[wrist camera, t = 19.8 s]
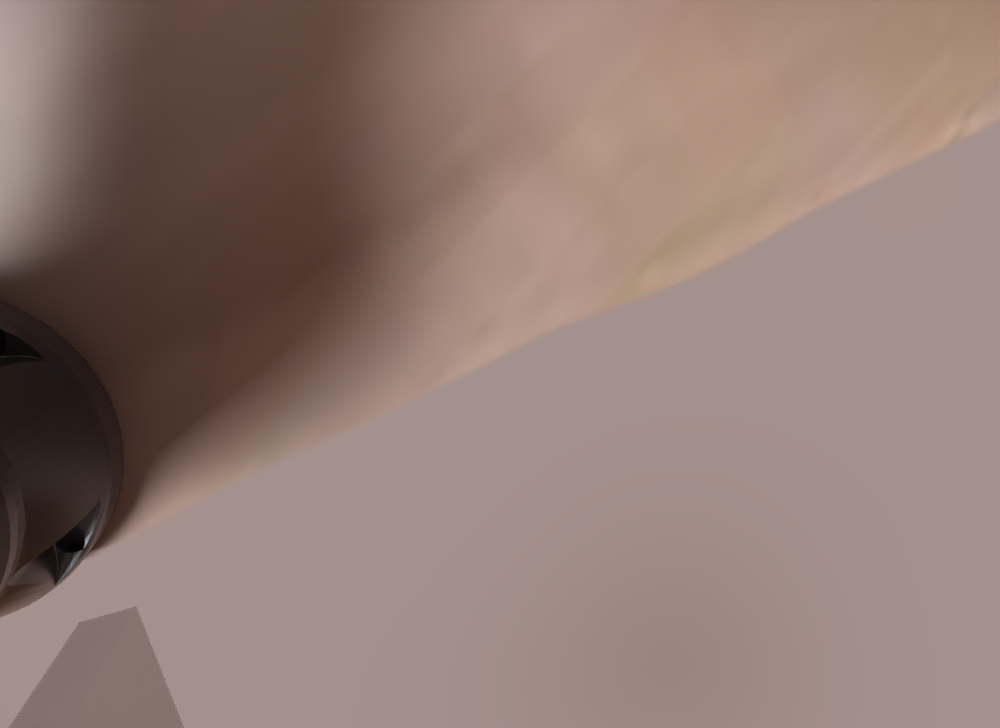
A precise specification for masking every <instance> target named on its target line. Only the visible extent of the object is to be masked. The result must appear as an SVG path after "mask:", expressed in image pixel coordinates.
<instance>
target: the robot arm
mask: <svg viewBox="0 0 1000 728" xmlns="http://www.w3.org/2000/svg"><path fill="white" fill-rule="evenodd" d="M122 473H123V450H122V441H121V435H120V430H119V426H118V422H117V419H116V416H115V413H114V410H113V407H112V405H111V403H110V400H109V398H108V396H107V394H106V392H105V390H104V388H103V386H102V385H101V383H100V382H99V380H98V378H97V377H96V375H95V374H94V372H93V371H92V370H91V368H90V367H89V366H88V364H87V363H86V362H85V361H84V360H83V358H82V357H81V356H80V355H79V354H78V353H77V352H76V351H75V350H74V349H73V348H72V347H71V346H70V345H69V344H68V343H67V342H66V341H65V340H64V339H63V338H61V337H60V336H59V335H58V334H56V333H55V332H54V331H53V330H51V329H50V328H48V327H47V326H45V325H44V324H43V323H41V322H39V321H38V320H36V319H34V318H33V317H31V316H29V315H27V314H25V313H24V312H22V311H20V310H18V309H15V308H13V307H11V306H8V305H6V304H3V303H1V302H0V617H2V616H5V615H8V614H10V613H13V612H15V611H18V610H20V609H22V608H24V607H26V606H28V605H30V604H31V603H33V602H35V601H37V600H38V599H40V598H41V597H43V596H44V595H46V594H47V593H49V592H50V591H51V590H53V589H54V588H55V587H56V586H58V585H59V584H60V583H61V582H62V581H63V580H65V579H66V578H67V577H68V576H69V575H70V574H71V573H72V572H73V571H74V570H75V569H76V568H77V567H78V565H79V564H80V563H81V562H82V560H83V559H84V558H85V556H86V555H87V554H88V553H89V551H90V550H91V549H92V547H93V546H94V545H95V543H96V542H97V541H98V539H99V538H100V536H101V535H102V533H103V532H104V530H105V528H106V526H107V525H108V523H109V521H110V519H111V516H112V514H113V512H114V509H115V506H116V503H117V500H118V496H119V492H120V488H121V482H122ZM9 728H184V727H183V724H182V721H181V719H180V716H179V714H178V711H177V709H176V706H175V704H174V701H173V699H172V696H171V694H170V691H169V688H168V686H167V683H166V681H165V678H164V676H163V673H162V671H161V668H160V666H159V663H158V661H157V658H156V655H155V653H154V651H153V648H152V646H151V643H150V640H149V638H148V635H147V633H146V630H145V627H144V625H143V622H142V620H141V617H140V615H139V612H138V610H137V608H136V607H133V608H129V609H126V610H123V611H119V612H116V613H112V614H108V615H105V616H101V617H98V618H94V619H91V620H87V621H84V622H80V623H79V624H78V625H77V627H76V629H75V630H74V631H73V633H72V634H71V636H70V637H69V639H68V640H67V642H66V643H65V645H64V646H63V648H62V649H61V651H60V652H59V654H58V656H57V657H56V658H55V660H54V661H53V663H52V664H51V666H50V667H49V669H48V670H47V672H46V673H45V675H44V676H43V678H42V679H41V681H40V682H39V684H38V685H37V686H36V688H35V689H34V691H33V692H32V694H31V695H30V697H29V698H28V700H27V701H26V703H25V704H24V706H23V708H22V709H21V711H20V712H19V713H18V715H17V716H16V718H15V719H14V721H13V722H12V724H11V725H10V727H9Z"/></svg>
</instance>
